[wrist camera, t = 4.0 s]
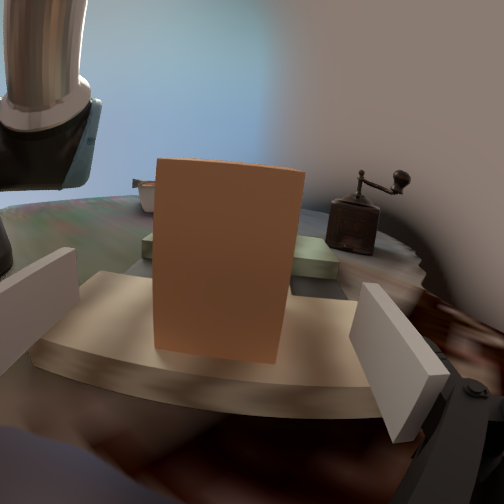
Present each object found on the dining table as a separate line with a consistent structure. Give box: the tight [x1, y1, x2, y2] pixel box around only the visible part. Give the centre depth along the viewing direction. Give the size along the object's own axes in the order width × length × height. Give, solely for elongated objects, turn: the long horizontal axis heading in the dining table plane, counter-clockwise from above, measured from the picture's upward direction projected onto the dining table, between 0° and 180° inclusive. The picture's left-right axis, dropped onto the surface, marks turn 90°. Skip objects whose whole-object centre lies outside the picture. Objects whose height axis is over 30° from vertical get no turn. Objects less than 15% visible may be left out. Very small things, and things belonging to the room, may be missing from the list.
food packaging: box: [132, 179, 155, 212], centre depth 87 cm, size 25×8×23 cm
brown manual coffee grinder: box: [325, 170, 411, 255], centre depth 62 cm, size 16×11×18 cm
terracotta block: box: [152, 158, 305, 364], centre depth 23 cm, size 8×10×12 cm
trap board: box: [28, 232, 382, 419], centre depth 37 cm, size 28×40×3 cm
